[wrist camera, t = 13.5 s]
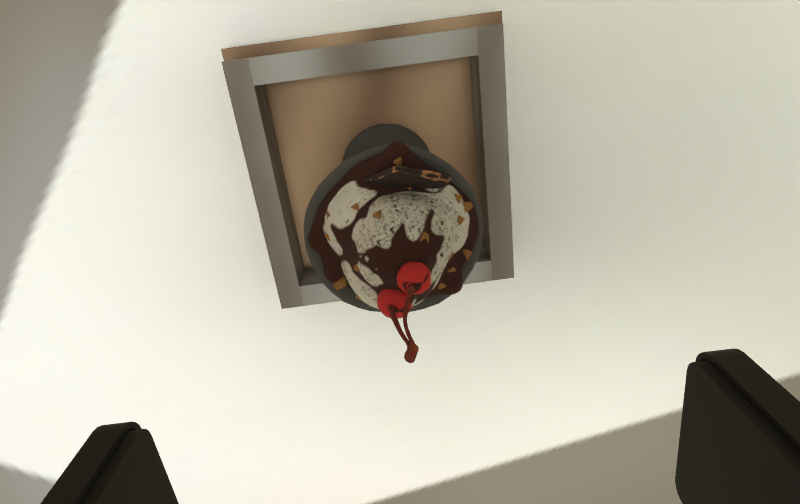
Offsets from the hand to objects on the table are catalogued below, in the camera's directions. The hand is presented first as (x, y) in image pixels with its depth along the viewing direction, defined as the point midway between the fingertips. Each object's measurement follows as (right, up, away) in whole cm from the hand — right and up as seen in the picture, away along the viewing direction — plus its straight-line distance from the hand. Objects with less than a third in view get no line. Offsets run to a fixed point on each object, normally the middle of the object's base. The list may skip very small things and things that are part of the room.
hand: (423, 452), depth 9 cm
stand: (-2, +9, +20) cm, 22 cm away
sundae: (-1, +8, +20) cm, 21 cm away
